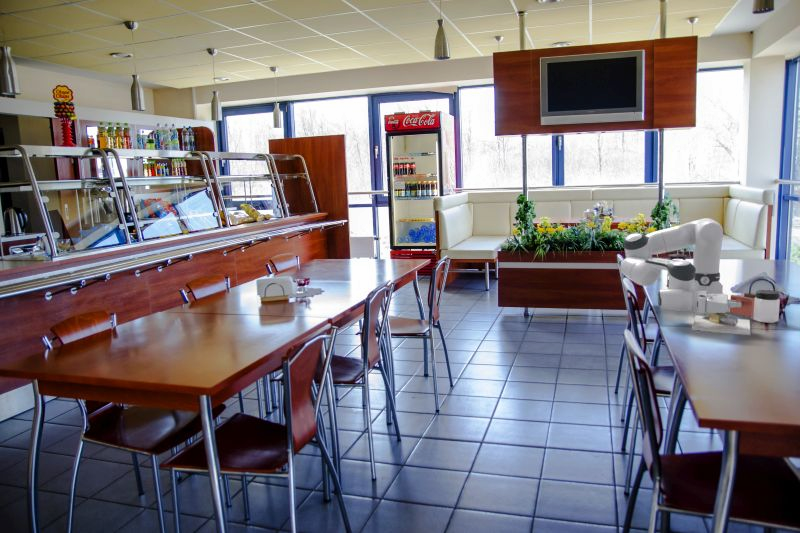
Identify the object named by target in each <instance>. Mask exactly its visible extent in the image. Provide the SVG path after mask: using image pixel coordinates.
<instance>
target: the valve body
mask: <svg viewBox="0 0 800 533" xmlns="http://www.w3.org/2000/svg"><path fill="white" fill-rule="evenodd" d="M700 316H702V317H705V318H708V319H709V321H711V322H714V323H718V324H721V323H726V324H729V325H733V326H735V325H737V323H738V319H739V318H738V317H735V316H732V315H727V314H718V313H707V312H706V313H705V314H700Z"/></svg>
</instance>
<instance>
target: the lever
mask: <svg viewBox="0 0 800 533" xmlns="http://www.w3.org/2000/svg"><path fill="white" fill-rule="evenodd" d="M730 300H735V301H741V307H734V308H729V311H728V310H727V312H726V313H718V314H727V315H729V316H731V317H735V318H740V319H745V320H749V321H750V320H754V319H753V317H754V316H753V315H754V300H755V298H753V297H748V296H747V297H746V296H740V295H735V294H731V295H730Z"/></svg>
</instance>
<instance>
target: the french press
mask: <svg viewBox="0 0 800 533" xmlns="http://www.w3.org/2000/svg"><path fill="white" fill-rule="evenodd" d="M676 251H677V253H674V254H673V253H672V254H668V255H667V256H668V259H671V260H675V259H676V261H679V259H680V260H682V261H687V259H686V258H687V256H688V255H686V254H681V253H679V250H676ZM666 287H667V288H669V274H668V273H667V280H666Z"/></svg>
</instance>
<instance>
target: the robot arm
mask: <svg viewBox="0 0 800 533" xmlns="http://www.w3.org/2000/svg"><path fill="white" fill-rule="evenodd" d="M723 237H724V229H723V226H722V225H721V224H720V223H719V221H716V220H715V219H712V218H708V217H705V218H704V217H703V218H701V219H697V220H692V221H690V222H686V223H683V224H680V225H676V226H672V227H667V228H663V229H660V230H655V231H652V232H650V233H648V234H643V233H640V232H634V233H630V234H628V235H626V237H625V238H624V239H623V245H622V246H623V248H624V254H625V257H624V259H623V260H622V261H621V262H620V271H621V273H622V275H624V276H625V277H626V278H627V279H629V280H630V281H632V282H634V283H635V284H637V285H639V286H643V287H648V286H651V285H654V284H655V283H656V282H657V281H658V280H659V278H660V277H661V273H662V270H663V271H667V274H669V276H668V280H669V287H667V288H663V289H659V290H658V291H657V303H658V307H659V309H660V308H661V309H664V310H667V311H675V312H676V311H677V312H684V311H687V312H690V313H696V314H697V313H698V314H700V315H701V314H705V313H706V312H707V313H726V312H727V311H728V308H729V309H730V308H734V307H741V301H735V300H730V299H731V298H730V299H729V294H726V293H723V291H724V289H723V288H724V286H723V284H722V283H721V282H720V278H721V273H720V263H721V262H720V261H721V260H720V259H721V252H722V245H723ZM692 246H694V251H693V258H692V259H693V260H692V261H693V262H692V263H691V262H690V261H687V260H678V261H677V259H672V260H671V259H669V258H664V257H658V256H656V257H655V256H653V255H659V254H666V253H671V252H675V251H677V250H678V251H679V250H684V249H687V248H690V247H692Z"/></svg>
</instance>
